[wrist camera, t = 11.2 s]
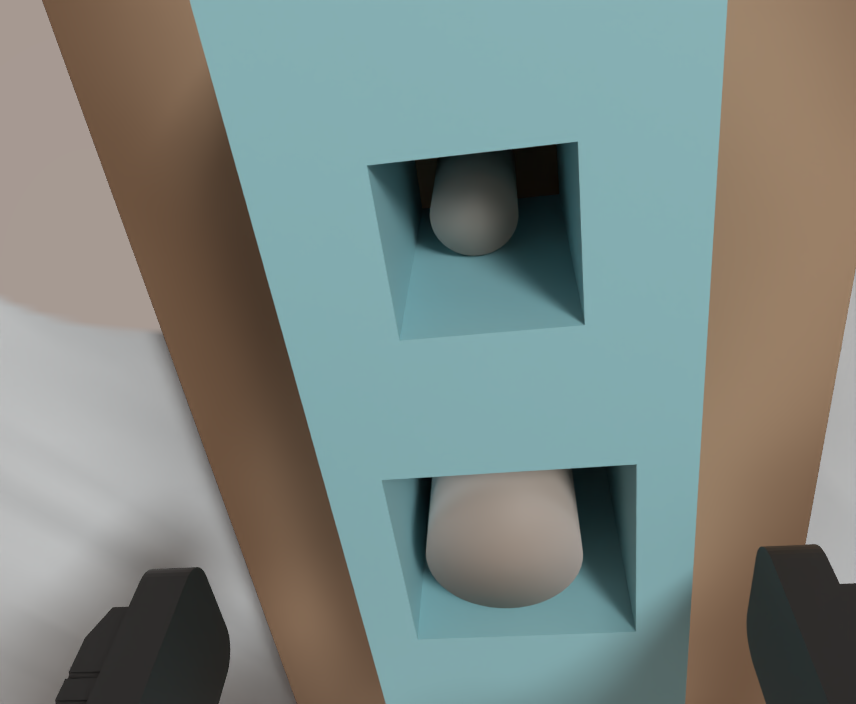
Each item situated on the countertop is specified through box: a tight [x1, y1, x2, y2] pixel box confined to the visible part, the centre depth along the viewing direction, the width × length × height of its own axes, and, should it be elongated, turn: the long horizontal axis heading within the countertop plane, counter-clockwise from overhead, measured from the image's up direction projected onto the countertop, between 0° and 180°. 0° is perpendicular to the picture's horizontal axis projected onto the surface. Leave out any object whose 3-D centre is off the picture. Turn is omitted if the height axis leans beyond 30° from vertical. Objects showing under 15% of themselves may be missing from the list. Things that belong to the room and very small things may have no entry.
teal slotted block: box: [190, 0, 728, 704], centre depth 12 cm, size 5×13×4 cm, turn 8°
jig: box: [42, 0, 856, 704], centre depth 14 cm, size 12×22×5 cm, turn 7°
